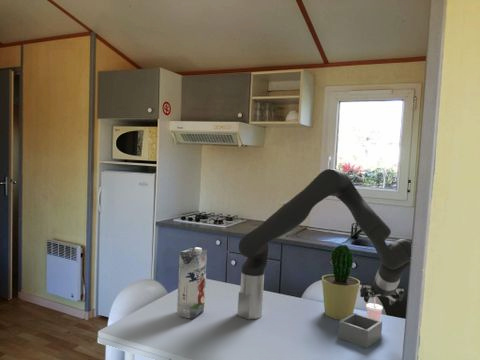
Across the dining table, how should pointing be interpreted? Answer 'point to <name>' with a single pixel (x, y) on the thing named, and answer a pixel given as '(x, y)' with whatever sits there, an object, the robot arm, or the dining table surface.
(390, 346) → the dining table surface
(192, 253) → the juice carton
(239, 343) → the dining table surface
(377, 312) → the beverage cup
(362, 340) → the bin
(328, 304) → the potted cactus
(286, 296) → the dining table surface
